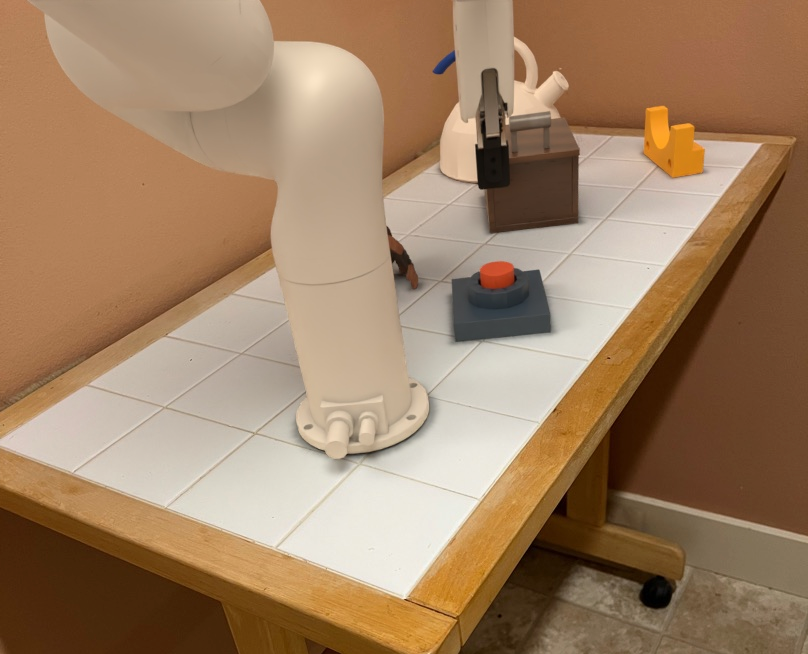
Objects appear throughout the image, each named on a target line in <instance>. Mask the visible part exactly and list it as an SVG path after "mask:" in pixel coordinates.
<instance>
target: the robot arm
mask: <svg viewBox="0 0 808 654" xmlns="http://www.w3.org/2000/svg"><path fill="white" fill-rule="evenodd" d="M26 1H27V2H28V3H29V4H31V5H32V6H34V8H37V9H38V10H39V11H40V12H42V13H43V14H44V15H43V16H44V26H45V31H46V35H47V39H48V43H49V45H50V48H51V50H52V53H53V55H54V57H55V59H56V61H57V63H58V64H59V66H60V68H61V70H62V71H63V72H64V73H65V75H66V76H67V77H68V79H69V80H70V82H71V83H72V84H73V85H74V86H75V87H76V88H77V89H78V90H79V91H80V92H81V93H82V94H83V95H84V96H85V97H87V98H88V99H90V101H92V102H93V103H94V104H96V105H98V107H101V108H102V109H104V110H105V111H107V112H109V114H112V115H114V116H115V117H116V118H119V119H121V120H122V121H124V122H125V123H127V124H129V125H130V126H132V127H134V128H136V129H137V130H139V131H141V132H142V133H144V134H146V135H148V136H150V137H152V139H155V140H157V142H159V143H161V144H164V145H165V146H167V147H169V148H171V149H172V150H174V151H176V152H177V153H179V154H181V155H182V156H185V157H186V158H189V159H190V160H192V161H194V162H196V163H198V164H200V165H202V166H204V167H207V168H209V169H212V170H216V171H219V172H223V173H228V174H235V175H240V176H247V177H255V178H262V179H265V180H268V181H269V180H270V181H274V182H275V184H276V188H277V195H276V202H275V205H274V206H275V207H274V210H273V215H272V219H271V224H270V247H271V251H272V257H273V261H274V265H275V269H276V273H277V277H278V281H279V285H280V290H281V293H282V297H283V301H284V305H285V309H286V314H287V319H288V323H289V326H290V330H291V335H292V339H293V343H294V349H295V350H296V356H297V361H298V364H299V368H300V372H301V376H302V380H303V385H304V389H305V392H306V396H305V397H304V398H303V400H302V401H301V402H300V404H299V405H298V407H297V409H296V413H295V423H296V427H297V429H298V433H299V435H300V436H301V438H302V439H303V440H304V441H305V442H306V443H308V444H309V445H310V446H312V447H313V448H317V449H319V450H322V451H324V452H325V454H326V455H327V456H328V457H329V458H330V459H333V460H341V459H343V458H345V457H346V455H347V454H350V455H354V454H365V453H371V452H374V451H379V450H383V449H386V448H388V447H392V446H394V445H396V444H398V443H400V442H402V441H404V440H406V439H408V438H409V437H410V436H412V435H413V434H414V433H416V432H417V430H419V429H420V428H422V426H423V424H424V423H425V422H426V420H427V418H428V416H429V412H430V401H429V395H428V392H427V390H426V389H425V387H424V385H422V384H421V383H420V382H419V381H417V380H415V379H413V378H412V377H410V376H409V372H408V366H407V358H406V352H405V345H404V338H403V331H402V323H401V318H400V311H399V304H398V297H397V290H396V283H395V277H394V276H395V275H394V270H393V264H392V261H391V255H390V248H389V241H388V234H387V226H388V225H387V220H386V211H385V202H384V201H385V200H384V189H383V188H384V187H383V185H384V184H383V158H384V157H383V155H384V140H385V139H384V136H385V111H384V101H383V96H382V92H381V89H380V86H379V84H378V81H377V80H376V77H375V76H374V74H373V72H372V71H371V70H370V68H369V67H368V66H367V65H366V63H364V61H362V59H360V58H359V57H358V56H356V55H355V54H353V53H351V52H350V51H348V50H347V49H344V48H342V47H339V46H336V45H333V44H330V43H325V42H317V41H307V40H306V41H301V40H299V41H294V40H291V41H289V40H288V41H287V40H275V39H274V31H273V28H272V23H271V21H270V18H269V15H268V13H267V11H266V8H265V6H264V5H263V3H262V2H261V0H26ZM452 28H453V29H452V30H453V31H452V32H453V43H454V44H453V47H454V50H455V57H456V61H455V70H456V71H455V72H456V80H457V81H456V82H457V93H458V102H459V105H460V115H461V120H462V121H463V122H465V123H468V119H472V118H476V132H477V143H478V144H475V152H476V166H477V181H478V183H477V188H478V189H479V190H481V191H482V190H483V191H484V189H492V188H501V187H508V186H509V185H510V166H509V145H508V140H506V120H505V119H506V115H507V118H508V117H510V116H511V115H512V113H513V109H514V80H515V50H514V37H515V29H514V28H515V27H514V1H513V0H452ZM505 113H506V115H505Z"/></svg>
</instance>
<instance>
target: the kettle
mask: <svg viewBox="0 0 808 654" xmlns="http://www.w3.org/2000/svg"><path fill="white" fill-rule="evenodd" d="M514 51H516V52H517V53H518V54H519V56H520V57H521V58H522V60H523V61H524V66H525V71H526V72H525V73H526V74H525V75H526V78H525V81H524V82H523V81H519V80H515V79H514V109H513V113H512V115H511V116H516V115H524V114H531V113H539V112H547V111H550V113H551V119H555V118H562V116H561V114H560V112H559V110H558V109H557V107H556V106H555V105H554V104H555V103H556V102H557V101H558V100H559V99H560V98H561V97H562V95H563V94H564V93H565V92H567V91H569V87H570V85H569V82H568V80H567V79H566V77H565V76H564V74H562V73H561V72H560V71H558V70H553V71H552V74H551V75H550V76H548V78H547V79H546V80H545V81H544V82H542V83H541V85H540V86H538V85H537V84H538V80H539V67H538V63H537V61H536V57H535V55H534V54H533V52H532V50H531V49H530V48H529V47H528V45H527V44H526V43H524V41H522V40H520V39H519V38H518V37H515V36H514ZM453 63H456V57H455V49H454V50H453V51H451V52H450V53H448V54H447V55H445V56H444V57H443V58H442V59H441V60H440V61H438V62H437V64H436V66H435V67H434V68H433V70H432V73H433V74H434V75H443V74H444V73H445V72H446V71H447V69H448V68H449V67H451V65H453ZM537 86H538V87H537ZM505 115H506V113H505ZM505 120H506V125H508V124H509V117H508V118H507V115H506V119H505ZM475 144H478V143H477V132H476V118H472V119H468V123H465V122H463V121H462V120H461V115H460V105H459V101H458V102H457V103H455V105H454V107H453V108H452V110H451V112H450V114H449V115H448V117H447V118H446V121H445V122H444V126H443V128H442V133H441V135H440V138H439V159H440V160H439V163H440V164H439V169H440V171H441V172H442V174H443V175H445V176H447V177H448V178H449V179H452V180H455V181H458V182H464V183H471V184H478V181H477V166H476V152H475Z"/></svg>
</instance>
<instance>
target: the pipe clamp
mask: <svg viewBox="0 0 808 654" xmlns="http://www.w3.org/2000/svg"><path fill="white" fill-rule="evenodd" d="M644 122H645V123H644V139H643V155H645V156H646V157H647V158H648V159H649V160H650V161H652V162H653V163H654V164H655V165H656V166H657V167H659V168H660V169H661V170H663V171H664V172H665V174H667V175H668V176H670V178H672V179H674V178H680V177H684V176H690V175H697V174H703V173H704V164H705V163H704V162H705V153H706V148H704V147H703V146H702V145H700V144H699V143H697V142H696V141H694V140H695V128H696V127H695V125H693V124H691V123H690V122H687V123H680V124H675V125H670V126H669V108H667V107H666V106H665V105H659V106H653V107H646V108H645V121H644ZM669 127H670V128H669Z"/></svg>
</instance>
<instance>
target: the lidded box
mask: <svg viewBox="0 0 808 654" xmlns="http://www.w3.org/2000/svg"><path fill="white" fill-rule="evenodd" d="M579 159H580V155H579V156H571V157H563V158H555V159H547V160H539V161H531V162H523V163H515V164H509V166H510V185H509V186H508V187H501V188H492V189H484V190H483V193H484V203H485V210H486V217H487V224H488V231H489V234H493V233H502V232H503V233H504V232H511V231H519V230H528V229H535V228H537V229H538V228H545V227H546V228H547V227H553V226H563V225H572V224H578V223H579V182H580V181H579V179H580V178H579V172H580V171H579V170H580V169H579V168H580V164H579V163H580V161H579Z"/></svg>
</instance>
